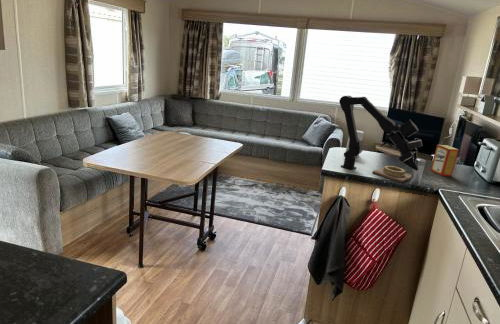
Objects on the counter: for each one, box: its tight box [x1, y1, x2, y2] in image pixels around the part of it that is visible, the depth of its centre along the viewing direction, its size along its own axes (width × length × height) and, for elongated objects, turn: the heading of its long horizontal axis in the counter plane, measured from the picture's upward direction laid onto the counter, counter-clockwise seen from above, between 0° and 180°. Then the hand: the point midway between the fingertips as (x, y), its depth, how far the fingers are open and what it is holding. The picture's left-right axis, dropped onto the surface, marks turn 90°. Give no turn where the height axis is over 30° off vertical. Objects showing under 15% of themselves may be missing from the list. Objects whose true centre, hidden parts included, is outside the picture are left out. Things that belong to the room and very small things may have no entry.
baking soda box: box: [430, 144, 460, 177], centre depth 208 cm, size 10×6×16 cm
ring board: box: [371, 165, 412, 183], centre depth 194 cm, size 16×16×4 cm
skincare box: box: [344, 129, 365, 158], centre depth 226 cm, size 8×7×16 cm
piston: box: [409, 157, 427, 187], centre depth 181 cm, size 5×5×13 cm
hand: (418, 168), depth 181 cm, fingers open, 9 cm apart
